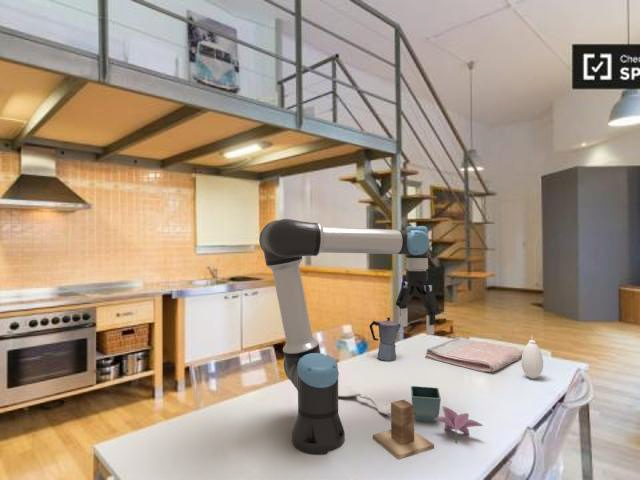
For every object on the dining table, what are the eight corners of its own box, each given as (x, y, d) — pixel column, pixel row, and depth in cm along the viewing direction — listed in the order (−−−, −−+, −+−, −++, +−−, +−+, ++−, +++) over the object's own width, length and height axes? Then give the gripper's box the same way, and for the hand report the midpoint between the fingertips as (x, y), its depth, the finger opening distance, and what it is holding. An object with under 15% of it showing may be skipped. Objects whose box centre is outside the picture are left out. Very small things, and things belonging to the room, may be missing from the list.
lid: (398, 459, 102) (398, 417, 102) (372, 438, 113) (372, 400, 113) (434, 448, 107) (433, 407, 107) (406, 429, 118) (405, 392, 118)
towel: (459, 344, 214) (459, 334, 214) (525, 358, 189) (525, 346, 189) (423, 358, 190) (423, 346, 190) (493, 376, 165) (493, 363, 165)
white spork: (391, 423, 123) (391, 412, 123) (323, 394, 147) (322, 385, 147) (408, 414, 129) (408, 404, 129) (340, 387, 153) (340, 379, 153)
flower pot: (441, 427, 120) (441, 398, 120) (411, 425, 122) (411, 396, 122) (438, 414, 128) (438, 387, 128) (410, 412, 130) (410, 385, 130)
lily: (488, 449, 109) (485, 412, 114) (465, 445, 103) (462, 405, 108) (451, 447, 118) (449, 412, 122) (427, 442, 111) (426, 406, 116)
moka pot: (404, 361, 184) (403, 319, 184) (371, 362, 184) (370, 319, 184) (400, 355, 193) (399, 315, 193) (368, 355, 193) (368, 315, 193)
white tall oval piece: (541, 383, 156) (541, 337, 156) (520, 378, 160) (519, 334, 160) (544, 377, 162) (544, 333, 162) (523, 373, 167) (523, 331, 166)
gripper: (451, 272, 129) (451, 336, 129) (402, 267, 151) (401, 322, 151) (434, 272, 125) (433, 339, 125) (386, 267, 148) (386, 324, 148)
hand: (416, 330), depth 138 cm, fingers open, 13 cm apart
